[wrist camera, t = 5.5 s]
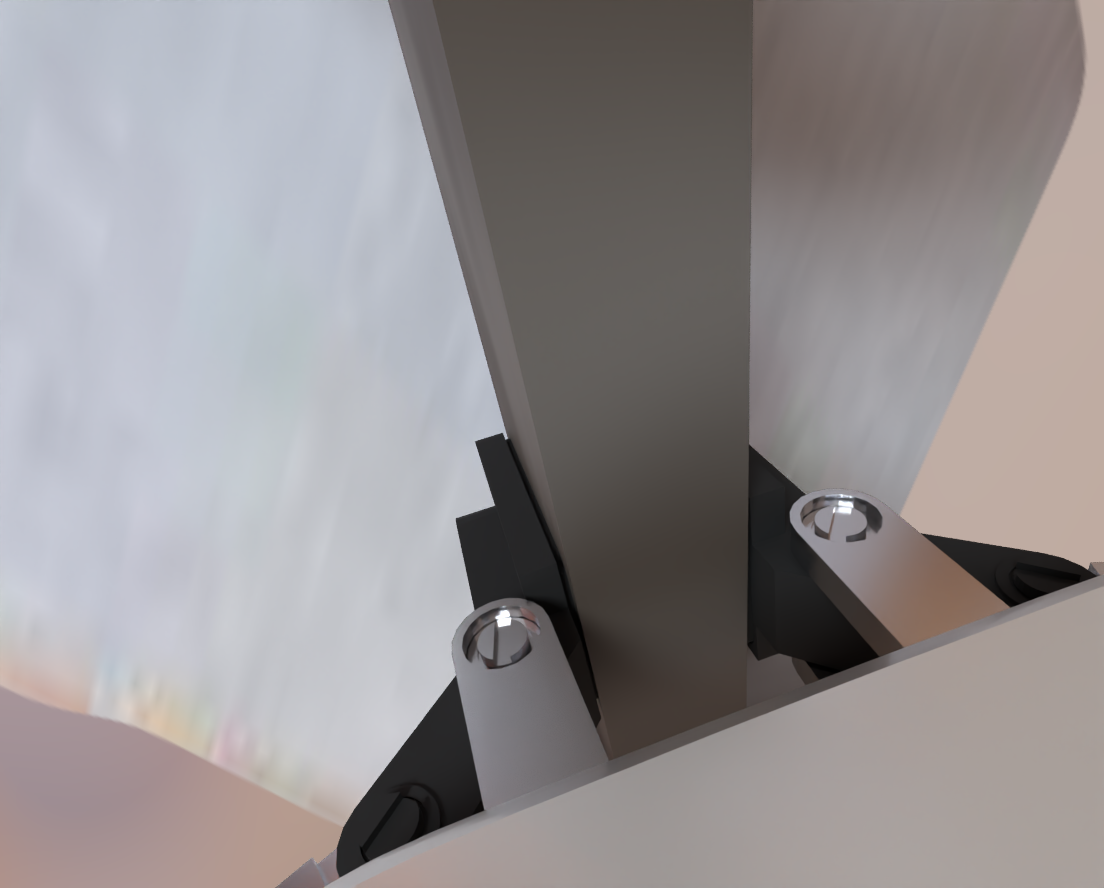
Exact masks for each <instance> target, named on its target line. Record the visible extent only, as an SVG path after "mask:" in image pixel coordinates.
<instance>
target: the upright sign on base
mask: <svg viewBox="0 0 1104 888" xmlns="http://www.w3.org/2000/svg"><path fill="white" fill-rule="evenodd" d="M388 1H389V5H390V9H391V12H392V16H393V20H394V23H395V27H396V31H397V34H398V38H399V42H400V45H401V49H402V53H403V56H404V60H405V64H406V67H407V71H408V75H409V78H410V82H411V86H412V89H413V93H414V97H415V100H416V104H417V108H418V111H419V115H420V119H421V122H422V126H423V130H424V133H425V137H426V140H427V144H428V148H429V151H430V155H431V159H432V162H433V166H434V170H435V173H436V177H437V181H438V184H439V188H440V192H441V195H442V199H443V203H444V206H445V210H446V214H447V217H448V221H449V225H450V228H451V232H452V236H453V239H454V243H455V247H456V250H457V254H458V258H459V261H460V265H461V269H462V272H463V276H464V280H465V283H466V287H467V290H468V294H469V298H470V301H471V305H472V309H473V312H474V316H475V320H476V323H477V327H478V331H479V334H480V338H481V342H482V345H483V349H484V353H485V356H486V360H487V364H488V367H489V371H490V375H491V378H492V382H493V386H494V389H495V393H496V397H497V400H498V404H499V408H500V411H501V415H502V419H503V422H504V426H505V430H506V433H507V437H508V439H511V441H512V443H513V446H514V448H515V450H516V453H517V455H518V457H519V460H520V462H521V464H522V467H523V469H524V471H525V474H526V476H527V478H528V481H529V483H530V485H531V488H532V490H533V492H534V494H535V497H536V499H537V501H538V504H539V506H540V508H541V511H542V513H543V515H544V518H545V520H546V522H547V525H548V527H549V529H550V532H551V534H552V536H553V539H554V541H555V543H556V546H557V548H558V551H559V553H560V556H561V559H562V562H563V565H564V568H565V571H566V574H567V578H568V581H569V585H570V589H571V593H572V597H573V601H574V605H575V609H576V612H577V616H578V620H579V624H580V628H581V632H582V636H583V640H584V644H585V647H586V651H587V655H588V659H589V663H590V667H591V671H592V675H593V678H594V682H595V686H596V690H597V694H598V699H596V700H597V703H598V707H599V711H600V715H601V720H600V722H599V724H598V726H597V728H596V731H597V733H598V735H599V738H600V740H601V743H602V745H603V747H604V750H605V752H606V755H607V757H608V759H609V761H610V760H613V759H616V758H618V757H621V756H623V755H626V754H628V753H631V752H634V751H636V750H639V749H641V748H644V747H647V746H649V745H652V744H654V743H657V742H659V741H662V740H665V739H667V738H670V737H672V736H675V735H677V734H680V733H683V732H685V731H688V730H690V729H693V728H695V727H698V726H701V725H703V724H706V723H708V722H711V721H714V720H716V719H719V718H721V717H724V716H727V715H729V714H732V713H734V712H737V711H740V710H742V709H745V708H747V707H750V706H753V705H755V704H758V703H761V702H763V701H766V700H768V699H771V698H774V697H776V696H779V695H781V694H784V693H787V692H789V691H792V690H794V689H797V688H800V687H802V686H805V683H804V682H803V681H802V679H801V678H800V676H799V675H798V673H797V672H796V670H795V668H794V666H793V663H792V657H790V656H786V655H783V654H776V655H773V656H771V657H768V658H765V659H762V660H760V661H758V660H757V659H756V657H755V656H754V654H753V653H752V652H751V650H750V649H749V647H748V646H747V589H748V474H749V359H750V244H751V129H752V13H753V0H388Z"/></svg>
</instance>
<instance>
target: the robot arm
mask: <svg viewBox="0 0 1104 888" xmlns="http://www.w3.org/2000/svg"><path fill="white" fill-rule="evenodd" d="M475 443H476V446H477V449H478V452H479V456H480V459H481V462H482V465H483V468H484V472H485V475H486V478H487V481H488V484H489V487H490V491H491V494H492V497H493V500H494V503H495V506H493V507H490V508H487V509H484V510H481V511H478V512H475V513H471V514H468V515H465V516H462V517H459V518H456V524H457V529H458V534H459V539H460V543H461V548H462V553H463V557H464V562H465V567H466V572H467V576H468V581H469V586H470V591H471V595H472V600H473V605H474V610H475V611H474V612H472V613H471V614H470V615H469V616H467V617H466V618H465V619H464V621H463V622H462V623H461V625H460V626H459V627H458V629H457V630H456V633H455V635H454V638H453V640H452V658H453V663H454V667H455V672H456V676H455V678H454V679H453V680H452V681H451V683H450V684H449V685H448V687H447V688H446V689H445V691H444V692H443V693H442V695H441V696H440V697H439V699H438V700H437V701H436V703H435V704H434V705H433V707H432V708H431V709H430V710H429V712H428V713H427V714H426V716H425V717H424V718H423V720H422V721H421V722H420V724H419V725H418V726H417V728H416V729H415V730H414V732H413V733H412V734H411V735H410V737H409V738H408V739H407V741H406V742H405V743H404V745H403V746H402V747H401V749H400V750H399V751H398V753H397V754H396V755H395V757H394V758H393V759H392V760H391V762H390V763H389V764H388V766H387V767H386V768H385V770H384V771H383V772H382V774H381V775H380V776H379V778H378V779H377V780H376V782H375V783H374V784H373V786H372V787H371V788H370V789H369V791H368V792H367V793H366V795H365V796H364V797H363V799H362V800H361V801H360V803H359V804H358V805H357V807H356V808H355V809H354V811H353V813H352V814H351V816H350V818H349V819H348V821H347V822H346V824H345V826H344V827H343V831H342V834H341V837H340V840H339V843H338V846H337V848H336V849H335V850H334V851H333V852H332V853H330V854H329V855H328V856H327V857H326V858H324V859H323V860H322V861H321V862H320V863H318V864H317V863H316V862H315V861H314V859H313V858H311V859H310V860H308V861H307V862H306V863H305V864H303V865H302V866H301V867H300V868H299V869H297V870H296V871H295V872H294V873H293V874H291V875H290V876H289V877H288V878H286V879H285V880H284V881H283V882H282V883H281V884H279V885H278V886H277V887H276V888H1104V562H1093V563H1090V566H1089V569H1088V570H1087V569H1085V568H1084V567H1082V566H1080V565H1078V564H1076V563H1073V562H1071V561H1069V560H1066V559H1064V558H1061V557H1057V556H1052V555H1048V554H1044V553H1039V552H1032V551H1027V550H1020V549H1014V548H1008V547H1002V546H996V545H989V544H983V543H977V542H971V541H965V540H959V539H953V538H946V537H940V536H934V535H928V534H922V533H919V532H918V531H917V530H916V529H915V528H913V527H912V526H911V525H910V524H909V523H907V522H906V521H905V520H904V519H902V518H901V517H900V516H899V515H898V514H896V513H895V512H894V511H893V510H892V509H890V508H889V507H888V506H887V505H886V504H884V503H883V502H881V501H880V500H878V499H876V498H875V497H873V496H871V495H868V494H865V493H862V492H859V491H854V490H848V489H824V490H819V491H814V492H811V493H809V494H807V495H805V494H804V493H803V492H802V491H801V490H800V489H799V488H798V487H796V486H795V485H794V484H793V483H792V482H791V481H790V480H788V479H787V478H786V477H785V476H784V475H783V474H782V473H781V472H779V471H778V470H777V469H776V468H775V467H774V466H773V465H772V464H770V463H769V462H768V461H767V460H766V459H765V458H764V457H762V456H761V455H760V454H759V453H758V452H757V451H756V450H755V449H753V448H752V447H751V446H750V445H749V474H748V589H747V646H748V647H749V649H750V650H751V652H752V653H753V654H754V656H755V657H756V659H757V660H758V661H760V660H762V659H765V658H768V657H771V656H773V655H776V654H783V655H786V656H790V657H792V663H793V666H794V668H795V670H796V672H797V673H798V675H799V676H800V678H801V679H802V681H803V682H804V683H805V686H802V687H800V688H797V689H794V690H792V691H789V692H787V693H784V694H781V695H779V696H776V697H774V698H771V699H768V700H766V701H763V702H761V703H758V704H755V705H753V706H750V707H747V708H745V709H742V710H740V711H737V712H734V713H732V714H729V715H727V716H724V717H721V718H719V719H716V720H714V721H711V722H708V723H706V724H703V725H701V726H698V727H695V728H693V729H690V730H688V731H685V732H683V733H680V734H677V735H675V736H672V737H670V738H667V739H665V740H662V741H659V742H657V743H654V744H652V745H649V746H647V747H644V748H641V749H639V750H636V751H634V752H631V753H628V754H626V755H623V756H621V757H618V758H616V759H613V760H610V761H609V759H608V757H607V755H606V752H605V750H604V747H603V745H602V743H601V740H600V738H599V735H598V733H597V731H596V728H597V726H598V724H599V722H600V720H601V715H600V711H599V707H598V703H597V700H596V699H598V694H597V690H596V686H595V682H594V678H593V675H592V671H591V667H590V663H589V659H588V655H587V651H586V647H585V644H584V640H583V636H582V632H581V628H580V624H579V620H578V616H577V612H576V609H575V605H574V601H573V597H572V593H571V589H570V585H569V581H568V578H567V574H566V571H565V568H564V565H563V562H562V559H561V556H560V553H559V551H558V548H557V546H556V543H555V541H554V539H553V536H552V534H551V532H550V529H549V527H548V525H547V522H546V520H545V518H544V515H543V513H542V511H541V508H540V506H539V504H538V501H537V499H536V497H535V494H534V492H533V490H532V488H531V485H530V483H529V481H528V478H527V476H526V474H525V471H524V469H523V467H522V464H521V462H520V460H519V457H518V455H517V453H516V450H515V448H514V446H513V443H512V441H511V439H507V440H505V438H504V435H503V433H501V434H497V435H494V436H491V437H488V438H484V439H481V440H478V441H475Z"/></svg>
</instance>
